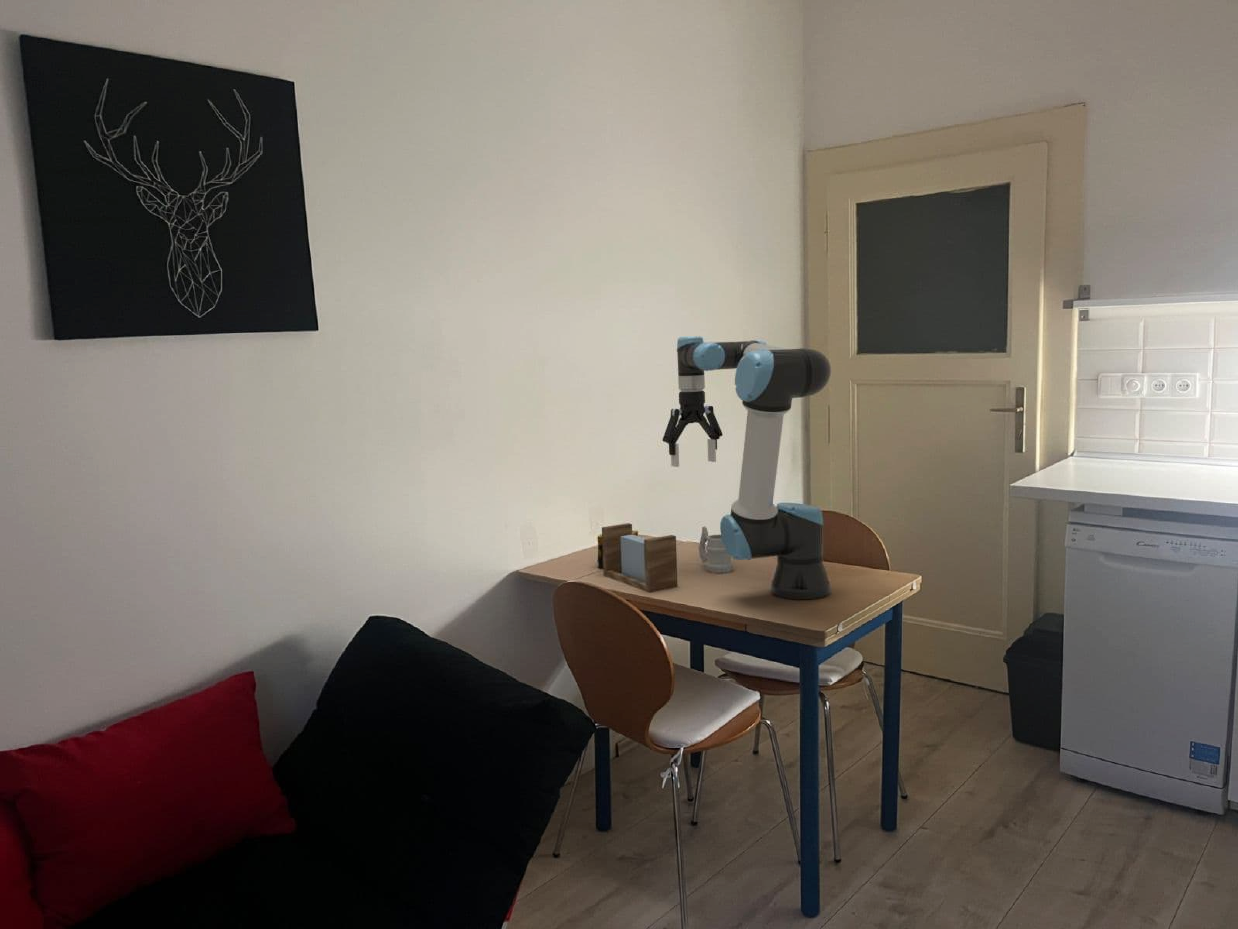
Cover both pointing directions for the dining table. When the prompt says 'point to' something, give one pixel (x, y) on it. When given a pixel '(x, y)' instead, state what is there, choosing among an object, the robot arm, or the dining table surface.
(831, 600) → the dining table surface
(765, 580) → the dining table surface
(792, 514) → the robot arm
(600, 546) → the dark brown pieces
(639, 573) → the pale blue book
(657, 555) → the rack
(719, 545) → the mug
